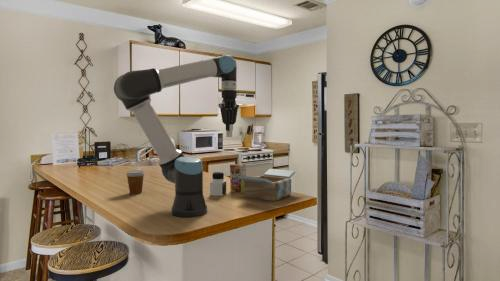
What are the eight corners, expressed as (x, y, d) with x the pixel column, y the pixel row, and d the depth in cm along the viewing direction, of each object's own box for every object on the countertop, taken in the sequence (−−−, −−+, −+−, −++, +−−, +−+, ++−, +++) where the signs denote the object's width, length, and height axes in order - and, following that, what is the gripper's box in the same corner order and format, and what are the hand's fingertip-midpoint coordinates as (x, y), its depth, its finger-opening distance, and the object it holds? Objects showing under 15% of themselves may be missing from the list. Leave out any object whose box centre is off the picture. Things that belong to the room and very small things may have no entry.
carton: (276, 201, 160) (276, 183, 160) (243, 196, 172) (243, 179, 172) (292, 195, 173) (292, 178, 173) (260, 190, 185) (260, 175, 185)
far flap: (288, 176, 174) (294, 170, 180) (263, 174, 184) (269, 168, 189) (289, 178, 175) (295, 172, 180) (264, 175, 184) (270, 170, 189)
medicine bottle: (222, 196, 173) (222, 173, 172) (209, 195, 174) (209, 173, 173) (226, 193, 180) (226, 171, 179) (213, 192, 181) (213, 171, 180)
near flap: (246, 178, 170) (238, 175, 164) (272, 181, 161) (265, 178, 155) (245, 180, 170) (237, 177, 164) (272, 183, 160) (264, 181, 155)
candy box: (229, 191, 184) (229, 164, 184) (235, 190, 188) (235, 163, 187) (240, 193, 178) (240, 165, 177) (246, 192, 181) (246, 165, 180)
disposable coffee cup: (123, 194, 178) (122, 172, 177) (133, 190, 187) (132, 170, 186) (138, 195, 175) (138, 173, 175) (148, 191, 185) (147, 170, 184)
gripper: (225, 88, 157) (226, 137, 158) (243, 90, 167) (243, 137, 168) (214, 89, 162) (214, 137, 163) (232, 91, 172) (232, 136, 173)
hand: (229, 137), depth 166 cm, fingers closed
